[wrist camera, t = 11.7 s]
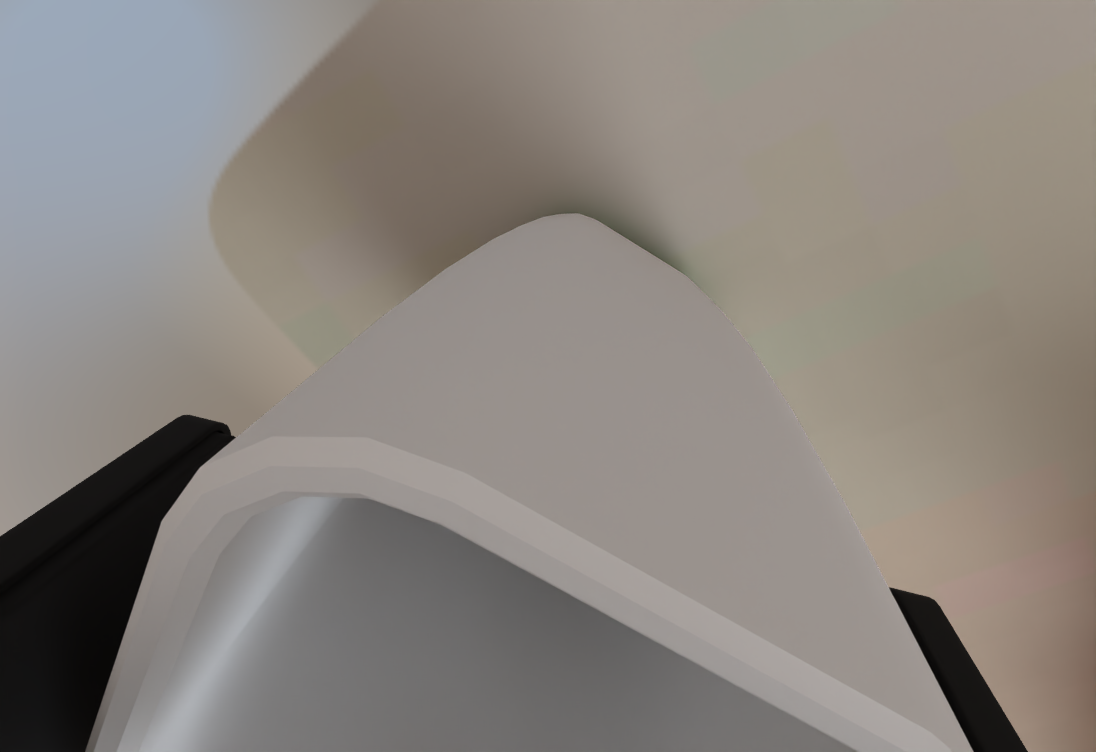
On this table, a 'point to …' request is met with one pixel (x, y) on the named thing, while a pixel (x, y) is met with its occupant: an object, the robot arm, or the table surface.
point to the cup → (524, 542)
